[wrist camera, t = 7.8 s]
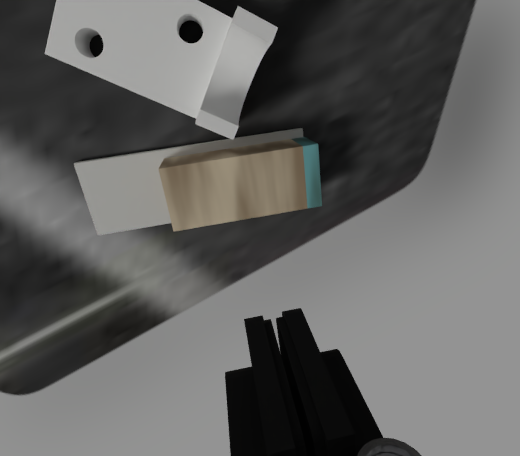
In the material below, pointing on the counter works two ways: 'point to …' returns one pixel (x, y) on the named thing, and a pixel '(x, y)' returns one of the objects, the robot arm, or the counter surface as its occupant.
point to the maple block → (241, 182)
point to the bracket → (166, 53)
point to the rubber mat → (144, 182)
